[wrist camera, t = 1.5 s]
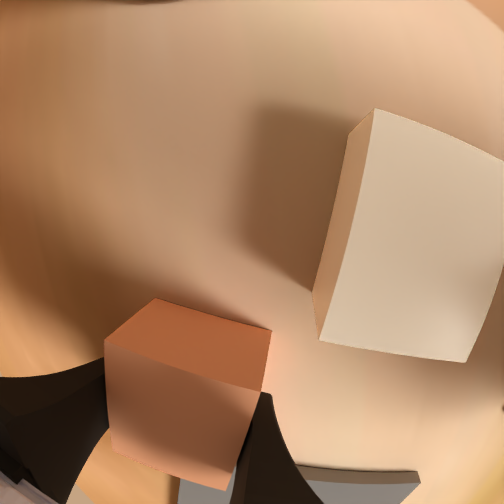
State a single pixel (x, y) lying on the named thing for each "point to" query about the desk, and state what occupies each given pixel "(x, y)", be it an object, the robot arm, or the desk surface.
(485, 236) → the cream brick
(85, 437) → the robot arm
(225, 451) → the terracotta brick
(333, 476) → the baseplate
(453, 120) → the desk surface
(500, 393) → the desk surface
